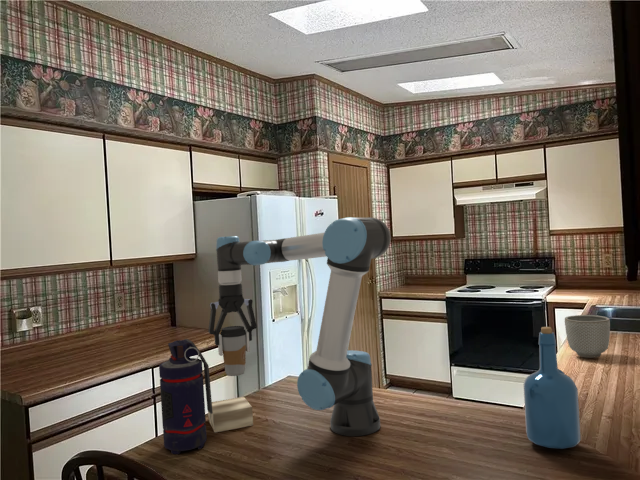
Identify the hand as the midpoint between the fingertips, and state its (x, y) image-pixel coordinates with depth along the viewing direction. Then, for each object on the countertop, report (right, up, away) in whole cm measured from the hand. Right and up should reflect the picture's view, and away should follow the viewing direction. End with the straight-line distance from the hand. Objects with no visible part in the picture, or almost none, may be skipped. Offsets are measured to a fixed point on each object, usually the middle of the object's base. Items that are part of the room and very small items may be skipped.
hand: (234, 352), depth 168 cm
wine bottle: (+90, -16, -31) cm, 97 cm away
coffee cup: (0, -7, 0) cm, 7 cm away
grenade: (-9, -22, -20) cm, 32 cm away
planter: (+143, -13, +53) cm, 153 cm away
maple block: (-1, -22, -4) cm, 22 cm away
